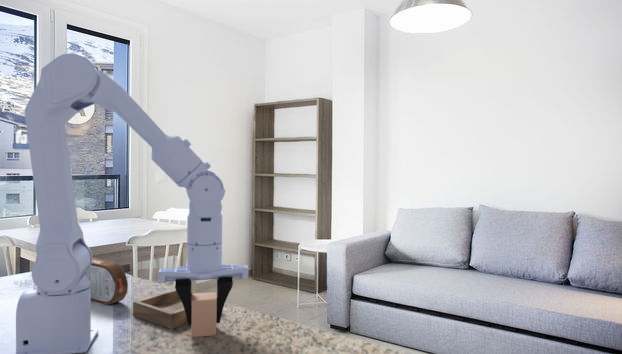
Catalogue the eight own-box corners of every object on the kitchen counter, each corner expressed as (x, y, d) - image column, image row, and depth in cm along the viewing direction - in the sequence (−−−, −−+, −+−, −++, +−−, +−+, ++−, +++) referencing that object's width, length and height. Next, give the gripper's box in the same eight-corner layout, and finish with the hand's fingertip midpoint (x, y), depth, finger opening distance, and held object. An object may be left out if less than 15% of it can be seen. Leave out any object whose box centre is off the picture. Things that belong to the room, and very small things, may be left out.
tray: (171, 328, 72) (171, 314, 72) (133, 315, 79) (133, 301, 78) (218, 310, 82) (218, 297, 82) (180, 299, 88) (181, 287, 88)
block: (191, 337, 69) (191, 301, 69) (191, 327, 73) (192, 293, 73) (216, 335, 70) (216, 299, 70) (215, 325, 74) (215, 292, 74)
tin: (129, 304, 84) (129, 262, 84) (115, 309, 82) (115, 266, 81) (83, 292, 92) (83, 253, 91) (69, 296, 89) (69, 256, 89)
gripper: (156, 248, 65) (156, 334, 66) (250, 245, 69) (249, 327, 70) (161, 240, 72) (160, 318, 73) (246, 238, 76) (245, 312, 76)
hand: (203, 321), depth 72 cm, fingers closed on block, 4 cm apart
